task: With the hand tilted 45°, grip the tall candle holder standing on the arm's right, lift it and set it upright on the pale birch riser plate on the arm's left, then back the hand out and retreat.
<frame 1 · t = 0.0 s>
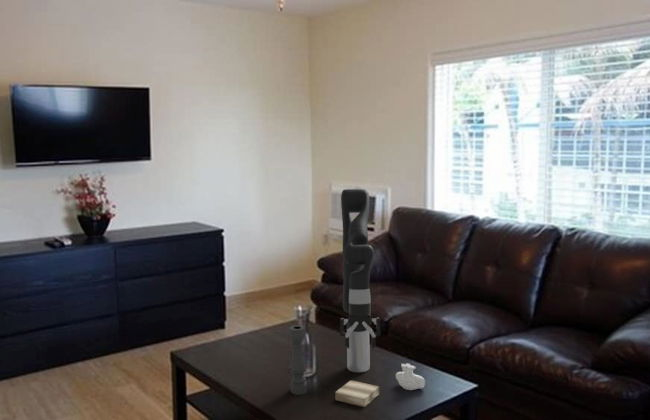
hand: (360, 347, 208), 22 cm above the table, tool pointing down, fingers open, 8 cm apart
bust: (409, 388, 227), on the table
candle holder: (298, 391, 226), on the table
birch plate: (357, 397, 220), on the table
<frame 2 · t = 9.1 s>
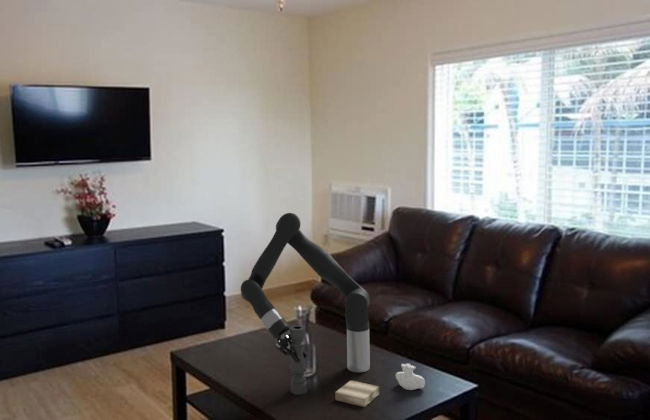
hand: (302, 359, 223), 13 cm above the table, tool tilted 45°, fingers closed on candle holder, 4 cm apart
candle holder: (298, 391, 226), on the table, touching gripper
everything else where it was.
when the fingers open (17 cm above the table, at t = 16.6 s): candle holder drops 1 cm, resting on birch plate.
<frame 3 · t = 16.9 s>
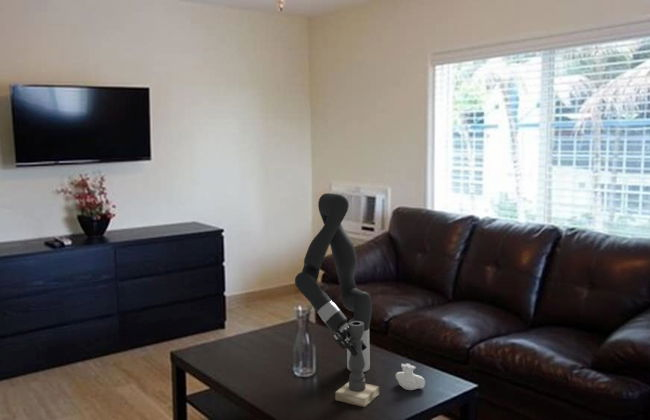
hand: (360, 351, 217), 18 cm above the table, tool tilted 45°, fingers open, 6 cm apart
candle holder: (357, 388, 221), point 3 cm above the table, touching birch plate, gripper
everything else where it was.
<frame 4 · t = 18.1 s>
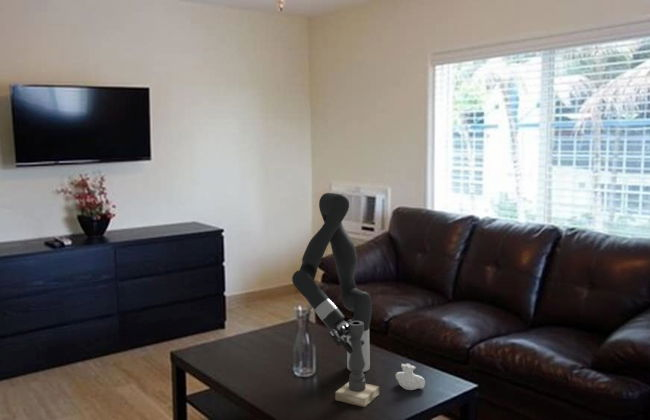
hand: (357, 348, 217), 19 cm above the table, tool tilted 45°, fingers open, 8 cm apart
nothing on the table moved.
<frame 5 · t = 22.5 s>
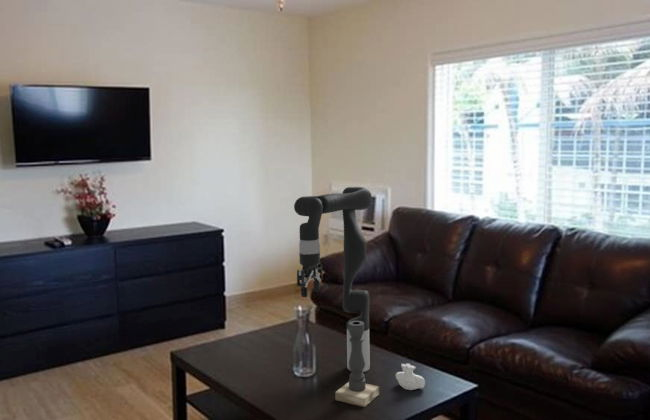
hand: (310, 294, 220), 38 cm above the table, tool pointing down, fingers open, 8 cm apart
candle holder: (357, 388, 221), point 3 cm above the table, touching birch plate
everything else where it was.
at the end: candle holder inside the target area on the birch plate (1.1 cm from its centre), point 2.8 cm above the birch plate's base; candle holder tilted 0°; the gripper is holding nothing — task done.
